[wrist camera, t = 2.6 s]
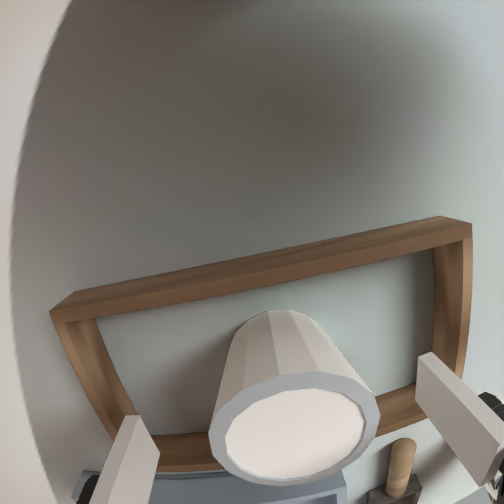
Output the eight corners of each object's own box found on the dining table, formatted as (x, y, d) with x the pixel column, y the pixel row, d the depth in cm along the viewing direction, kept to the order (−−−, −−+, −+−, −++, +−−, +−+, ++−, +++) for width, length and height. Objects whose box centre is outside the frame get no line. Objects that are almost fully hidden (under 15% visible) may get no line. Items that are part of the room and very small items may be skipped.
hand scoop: (371, 448, 20) (379, 466, 18) (425, 428, 20) (435, 444, 18) (365, 514, 23) (370, 528, 21) (407, 499, 23) (413, 512, 21)
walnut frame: (74, 291, 16) (49, 311, 13) (440, 215, 16) (471, 223, 13) (143, 442, 19) (134, 471, 16) (436, 381, 19) (456, 404, 16)
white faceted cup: (201, 315, 17) (181, 396, 10) (327, 283, 17) (378, 348, 10) (236, 409, 18) (236, 497, 11) (343, 383, 18) (380, 463, 11)
